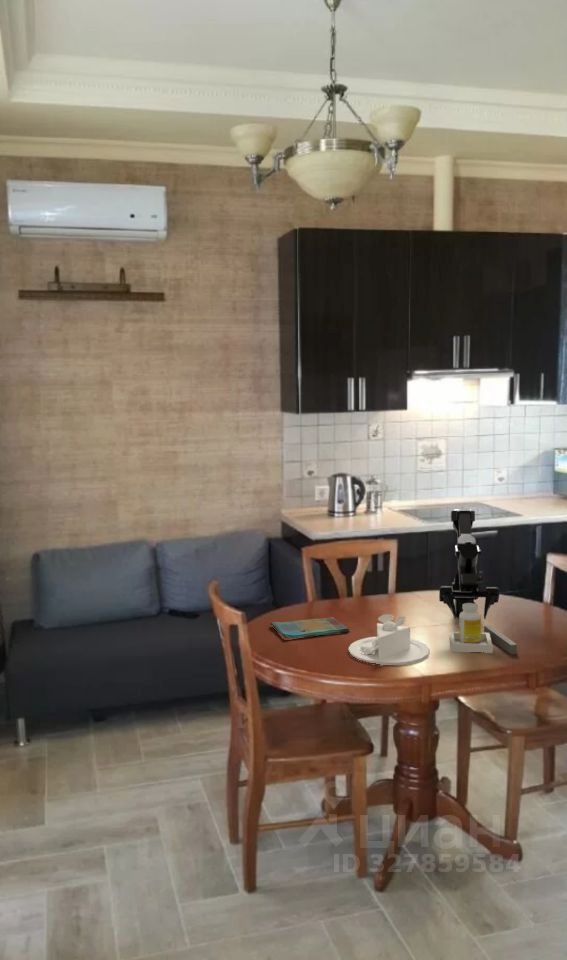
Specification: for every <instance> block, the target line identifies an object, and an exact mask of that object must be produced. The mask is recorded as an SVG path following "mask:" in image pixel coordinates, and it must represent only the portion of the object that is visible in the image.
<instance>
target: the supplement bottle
mask: <svg viewBox="0 0 567 960" xmlns="http://www.w3.org/2000/svg"><path fill="white" fill-rule="evenodd" d="M462 608H463V612H461V613H460V615H459V617H458V619H459V620H458V621H459V622H458V623H459V628H458V629H459V630H458V632H459V642H460V643H474V644H481V633H482V616H481V614H480V613H479V612H478V609H479V607H478V604H476V603H475V604H474V603H464V604H463V605H462Z"/></svg>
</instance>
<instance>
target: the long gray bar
mask: <svg viewBox="0 0 567 960" xmlns="http://www.w3.org/2000/svg"><path fill="white" fill-rule="evenodd" d="M483 633H489V634H490V638H491V641H492V642H493V641H494V642H493V643H495V644H496V645H497V644H498V645H497V646H499V647H500V648H502V649H503V650H504V651H505V650H506V651H505V652H507V654H510V655H517V654H518V644H517V643H516V642H514V641H513V640H511V639H510V638H508V637H507V636H506V635H504V634H503V633H501V632H500V631H499V630H497V629H496V628H495V627H493V626H492V625H490V624H488V625H487V624H486V625H483Z"/></svg>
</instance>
